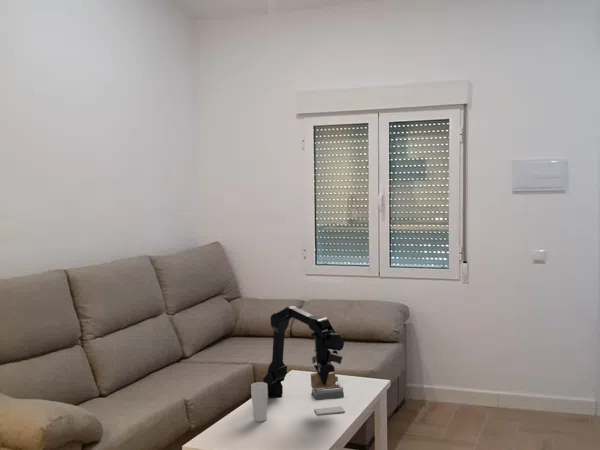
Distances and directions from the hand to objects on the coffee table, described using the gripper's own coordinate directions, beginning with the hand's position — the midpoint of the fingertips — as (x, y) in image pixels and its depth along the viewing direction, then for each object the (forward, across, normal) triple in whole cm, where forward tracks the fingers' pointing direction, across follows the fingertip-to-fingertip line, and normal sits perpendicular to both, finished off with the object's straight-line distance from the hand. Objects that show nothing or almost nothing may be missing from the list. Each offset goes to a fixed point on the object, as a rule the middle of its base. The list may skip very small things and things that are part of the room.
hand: (323, 383), depth 261 cm
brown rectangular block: (+1, 0, 0) cm, 1 cm away
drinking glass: (+12, -3, +28) cm, 31 cm away
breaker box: (+12, +20, -6) cm, 24 cm away
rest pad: (+12, -1, -2) cm, 12 cm away
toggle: (+9, +20, -2) cm, 22 cm away
